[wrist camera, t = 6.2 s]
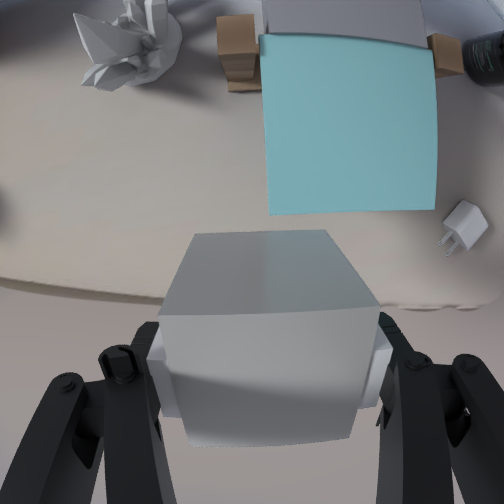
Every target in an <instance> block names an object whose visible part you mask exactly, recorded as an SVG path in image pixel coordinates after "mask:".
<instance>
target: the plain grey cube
mask: <svg viewBox="0 0 504 504" xmlns="http://www.w3.org/2000/svg"><path fill="white" fill-rule="evenodd" d="M380 309H381V305H380V304H379V302H378V301H377V299H376V298H375V297H374V295H373V294H372V292H371V291H370V289H369V288H368V287H367V285H366V284H365V283H364V281H363V280H362V278H361V277H360V276H359V274H358V273H357V271H356V270H355V269H354V267H353V266H352V265H351V263H350V262H349V261H348V259H347V258H346V257H345V255H344V254H343V253H342V251H341V250H340V249H339V247H338V246H337V245H336V243H335V242H334V241H333V239H332V238H331V237H330V235H329V234H328V233H327V232H326V230H291V231H258V232H229V233H203V234H194V237H193V239H192V241H191V243H190V245H189V247H188V249H187V251H186V253H185V256H184V258H183V260H182V262H181V264H180V266H179V268H178V271H177V273H176V275H175V277H174V279H173V282H172V284H171V286H170V288H169V290H168V293H167V295H166V297H165V299H164V302H163V304H162V306H161V308H160V311H159V313H158V320H159V325H160V330H161V335H162V340H163V344H164V349H165V353H166V358H167V362H168V366H169V370H170V375H171V379H172V383H173V387H174V391H175V394H176V398H177V402H178V406H179V409H180V413H181V417H182V420H183V424H184V427H185V431H186V434H187V437H188V441H189V444H190V446H197V447H262V446H281V445H294V444H305V443H315V442H323V441H330V440H339V439H345V438H349V436H350V433H351V429H352V426H353V423H354V420H355V416H356V413H357V409H358V406H359V402H360V399H361V395H362V391H363V387H364V383H365V379H366V375H367V371H368V367H369V363H370V358H371V354H372V349H373V345H374V340H375V335H376V330H377V325H378V320H379V315H380Z"/></svg>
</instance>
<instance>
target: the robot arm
mask: <svg viewBox="0 0 504 504" xmlns="http://www.w3.org/2000/svg"><path fill="white" fill-rule="evenodd" d="M98 361H99V364H100V366H101V369H102V372H103V374H104V377H105V379H104V380H100V381H93V382H85V383H84V381H83V378H82V377H81V376H80V375H79V374H77V373H73V372H72V373H71V372H69V373H63V374H60V375H58V376H57V377H55V378H54V379H53V380H52V381H51V383H50V384H49V386H48V388H47V390H46V392H45V394H44V396H43V398H42V400H41V401H40V404H39V406H38V407H37V409H36V411H35V413H34V415H33V417H32V419H31V421H30V423H29V426H28V428H27V430H26V432H25V434H24V436H23V438H22V440H21V443H20V445H19V447H18V449H17V452H16V454H15V456H14V458H13V461H12V463H11V465H10V468H9V470H8V473H7V475H6V477H5V480H4V482H3V485H2V488H1V490H0V504H90V502H91V498H92V494H93V490H94V486H95V481H96V477H97V473H98V469H99V465H100V462H101V458H102V454H103V450H104V460H105V480H106V496H107V504H177V503H176V498H175V494H174V490H173V485H172V481H171V476H170V472H169V467H168V462H167V458H166V452H165V447H164V441H163V436H162V431H161V425H160V422H159V419H158V414H159V411H160V408H161V411H162V413H163V417H176V418H182V417H181V413H180V409H179V406H178V402H177V398H176V394H175V391H174V387H173V383H172V379H171V375H170V370H169V366H168V362H167V358H166V353H165V349H164V344H163V340H162V335H161V330H160V325H159V322H145V323H144V324H143V325H142V326H141V327H140V328H139V329H138V331H137V332H136V335H135V338H134V339H133V341H132V344H131V345H130V346H129V345H115V346H111V347H109V348H107V349H105V350H104V351H103V352H102V353H101V354H100V356H99V358H98ZM379 396H380V397H381V400H382V402H383V406H382V409H381V412H380V415H379V417H378V420H377V423H376V426H379V424H380V453H379V471H378V485H377V486H378V487H377V497H376V504H454V493H453V480H452V470H451V467H452V469H453V472H454V475H455V477H456V480H457V483H458V485H459V488H460V491H461V494H462V497H463V499H464V502H465V504H504V391H503V390H502V388H501V387H500V385H499V384H498V382H497V381H496V379H495V378H494V376H493V375H492V374H491V372H490V371H489V369H488V368H487V367H486V365H485V364H484V362H483V361H482V360H481V359H480V358H478V357H476V356H474V355H470V354H460V355H458V356H456V358H455V359H454V361H453V363H452V365H441V364H433V362H432V360H431V359H430V358H429V357H428V356H427V355H425V354H423V353H421V352H416V351H414V350H413V348H412V347H411V345H410V344H409V342H408V341H407V339H406V338H405V336H404V335H403V333H401V330H400V329H399V328H398V327H397V324H396V323H395V322H394V320H393V319H392V318H391V317H390V316H389V315H387V314H386V313H384V312H380V315H379V320H378V325H377V330H376V335H375V340H374V345H373V349H372V354H371V358H370V363H369V367H368V371H367V375H366V379H365V383H364V387H363V391H362V395H361V399H360V402H359V406H358V409H363V408H369V407H375V406H376V405H377V402H378V399H379ZM466 408H467V409H468V411H469V413H470V414H469V413H468V412H467V410H466Z"/></svg>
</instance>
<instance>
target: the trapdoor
mask: <svg viewBox="0 0 504 504" xmlns="http://www.w3.org/2000/svg"><path fill="white" fill-rule="evenodd" d="M262 10H263V23H264V35H259V52H260V67H261V82H262V97H263V114H264V130H265V148H266V166H267V186H268V206H269V215H270V216H271V215H289V214H309V213H331V212H357V211H390V210H435V197H436V181H437V146H438V135H437V101H436V85H435V73H434V63H433V54H432V50H428V49H426V48H428V44H427V37H426V30H425V24H424V18H423V12H422V7H421V2H420V0H262Z"/></svg>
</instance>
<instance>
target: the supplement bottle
mask: <svg viewBox="0 0 504 504" xmlns="http://www.w3.org/2000/svg"><path fill="white" fill-rule="evenodd" d="M462 58H463V65H464V67H465V70H466V72H467V73H468V75H469V76H470V77H471V79H472V80H473V81H475V82H476V83H477V84H479V85H481V86H484V87H495V86H504V30H503V31H499V32H495V33H491V34H487V35H483V36H480V37H476V38H473V39H470V40H468V41H466V42H465V44H464V45H463V48H462Z"/></svg>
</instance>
